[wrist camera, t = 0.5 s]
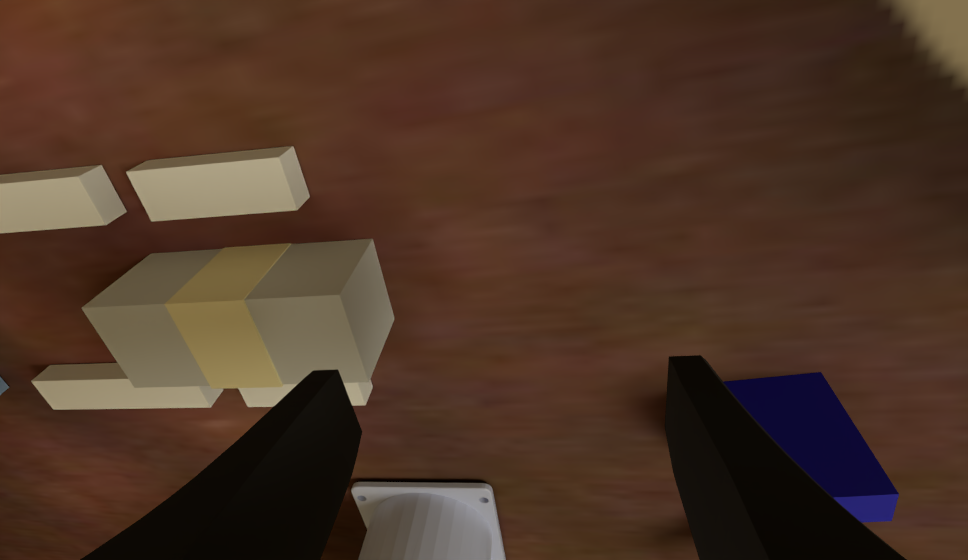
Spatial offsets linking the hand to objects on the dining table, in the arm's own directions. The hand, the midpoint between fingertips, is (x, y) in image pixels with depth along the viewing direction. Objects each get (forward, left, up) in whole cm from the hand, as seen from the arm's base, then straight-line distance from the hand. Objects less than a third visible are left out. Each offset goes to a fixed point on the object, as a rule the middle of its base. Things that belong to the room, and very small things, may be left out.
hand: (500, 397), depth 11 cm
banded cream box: (-3, +11, -10) cm, 15 cm away
